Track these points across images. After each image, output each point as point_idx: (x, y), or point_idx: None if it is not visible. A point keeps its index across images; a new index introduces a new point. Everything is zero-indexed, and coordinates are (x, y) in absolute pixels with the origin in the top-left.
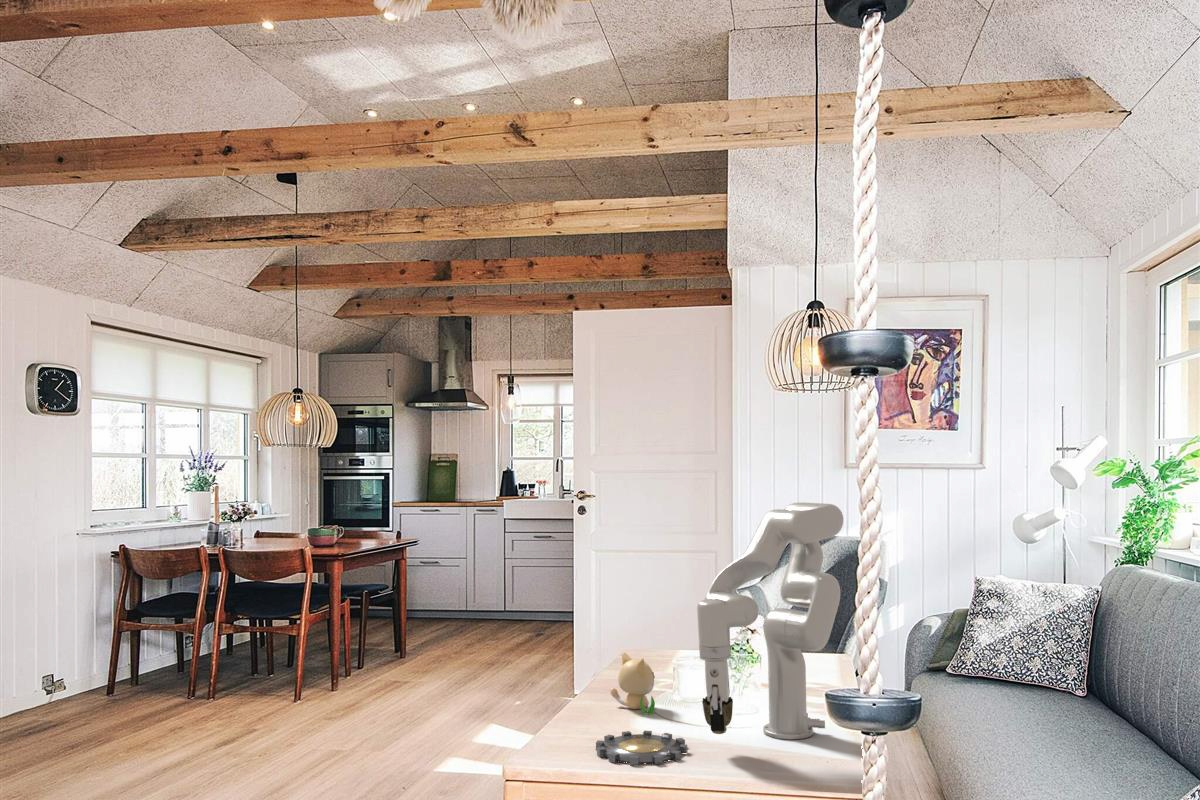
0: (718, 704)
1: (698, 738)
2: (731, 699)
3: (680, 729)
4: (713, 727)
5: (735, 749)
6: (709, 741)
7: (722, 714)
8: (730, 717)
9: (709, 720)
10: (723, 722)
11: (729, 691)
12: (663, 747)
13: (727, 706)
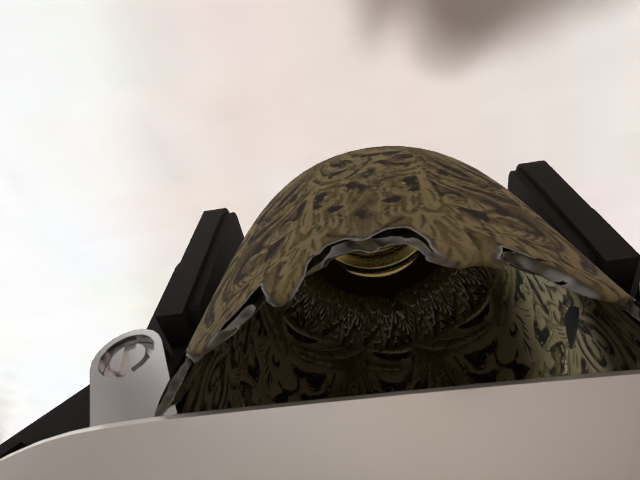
0: (227, 381)
1: (144, 295)
2: (275, 302)
3: (63, 378)
4: None
5: (239, 65)
6: (162, 241)
7: (631, 266)
8: (445, 159)
9: (499, 334)
10: (580, 202)
11: (150, 476)
12: None
13: (607, 279)
